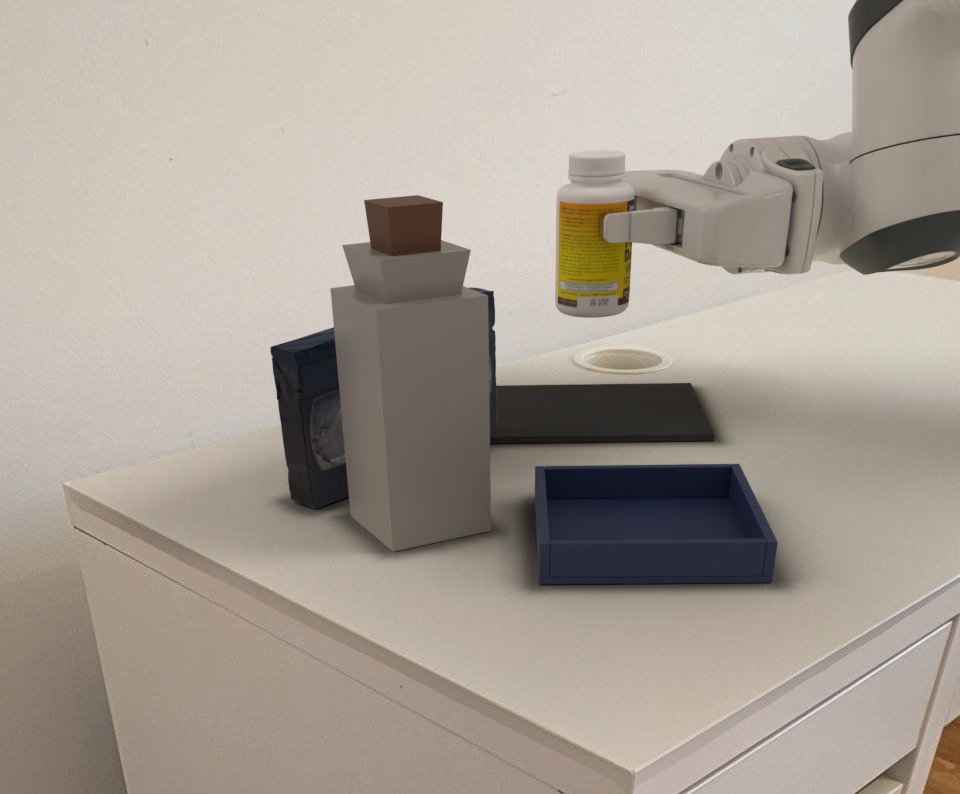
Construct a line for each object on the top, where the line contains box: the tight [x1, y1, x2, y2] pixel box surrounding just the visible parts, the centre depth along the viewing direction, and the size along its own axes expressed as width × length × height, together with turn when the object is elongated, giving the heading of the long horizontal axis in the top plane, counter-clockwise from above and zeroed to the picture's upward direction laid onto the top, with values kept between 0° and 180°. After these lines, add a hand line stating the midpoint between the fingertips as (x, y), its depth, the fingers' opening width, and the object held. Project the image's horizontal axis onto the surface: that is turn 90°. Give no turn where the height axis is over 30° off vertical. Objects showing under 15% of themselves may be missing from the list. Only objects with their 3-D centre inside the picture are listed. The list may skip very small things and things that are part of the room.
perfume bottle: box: [330, 194, 492, 552], centre depth 67 cm, size 7×7×18 cm
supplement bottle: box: [554, 149, 635, 319], centre depth 83 cm, size 6×6×10 cm
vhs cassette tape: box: [270, 286, 497, 509], centre depth 77 cm, size 18×3×10 cm, turn 136°
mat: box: [490, 382, 716, 444], centre depth 90 cm, size 18×14×1 cm
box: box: [534, 463, 779, 585], centre depth 69 cm, size 13×13×2 cm
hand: (583, 220), depth 82 cm, fingers closed on supplement bottle, 5 cm apart
